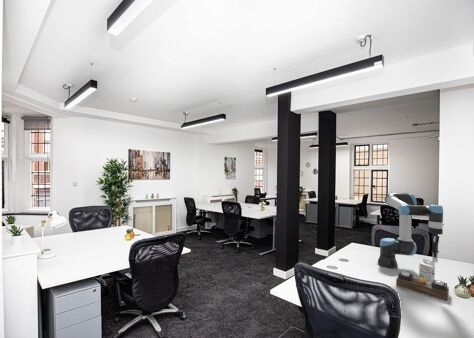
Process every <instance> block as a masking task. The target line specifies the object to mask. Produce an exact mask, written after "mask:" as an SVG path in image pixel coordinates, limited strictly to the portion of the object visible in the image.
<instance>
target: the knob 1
mask: <svg viewBox="0 0 474 338" xmlns="http://www.w3.org/2000/svg"><path fill="white" fill-rule="evenodd" d="M410 274H411V273H410V272H407V271H401V275H404V276H408V277H410Z"/></svg>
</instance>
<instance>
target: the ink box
mask: <svg viewBox="0 0 474 338" xmlns="http://www.w3.org/2000/svg"><path fill="white" fill-rule="evenodd" d="M435 263H436V262H432V260H430V259H426V258H422V262H419V267H418V268H419V271H418V272H419V273H418V276H419V277H422V278H425V279H426V281H428V282H431V283H432V280H436V278H435V276H436V273H435V272H436V266H435Z"/></svg>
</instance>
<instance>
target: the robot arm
mask: <svg viewBox="0 0 474 338" xmlns="http://www.w3.org/2000/svg"><path fill="white" fill-rule="evenodd" d="M384 202H385V204H386V205H387V206H389V207H392V208H395V209H396V210H397V211H398V214H399V218H398V220H399V222H398V223H399V225H398V227H399V237H397V239H395V238H391V237H385V238H381V239H380V243H379V257H378V259H377V265H379V266H381V267H384V268H386V269H387V268H388V269H397V268H398V267H399V266H398V262H397V259H396V255H400V256H408V257H409V256H414V255H416V253H417V250H418V249H417V248H418V247H417V244H416V242H414V240H413V239H412V216H413V217H414V216H415V217H428V233H430V234H431V244H432V245H431V246H432V247H431V248H432V250H431V253H432V258H431V259H432V260H431V261H432V262H435V263H438V262H439V260H438V258H439V256H438V255H439V253H440V251H439V242H440V235H443V234H444V233H443V231H444V230H443V228H444V227H443V226H444V225H445V224H444V223H443V222H444V207H443V205H439V204H429V205H428V204H427V205H425V204H423V205H419V204H418V202H417V198H416V195H414V194H413V193H408V192H391V193H390V192H389V193H388V194H386V195H385V197H384ZM417 204H418V205H417Z"/></svg>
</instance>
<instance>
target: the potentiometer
mask: <svg viewBox="0 0 474 338" xmlns="http://www.w3.org/2000/svg"><path fill="white" fill-rule="evenodd" d="M417 279H418V282H419V283H421V284H426V281H427V280H426V279H425V278H422V277H417Z"/></svg>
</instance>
